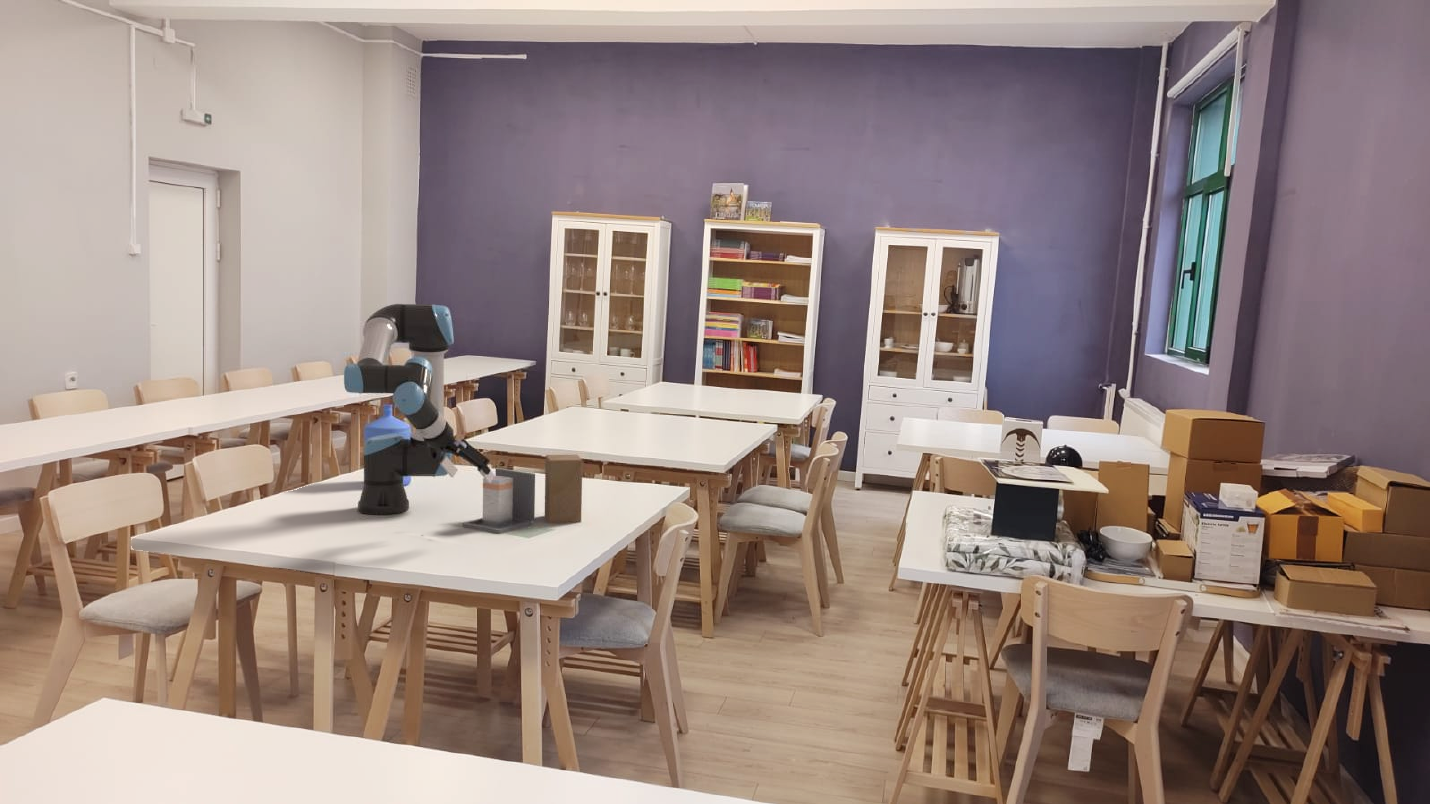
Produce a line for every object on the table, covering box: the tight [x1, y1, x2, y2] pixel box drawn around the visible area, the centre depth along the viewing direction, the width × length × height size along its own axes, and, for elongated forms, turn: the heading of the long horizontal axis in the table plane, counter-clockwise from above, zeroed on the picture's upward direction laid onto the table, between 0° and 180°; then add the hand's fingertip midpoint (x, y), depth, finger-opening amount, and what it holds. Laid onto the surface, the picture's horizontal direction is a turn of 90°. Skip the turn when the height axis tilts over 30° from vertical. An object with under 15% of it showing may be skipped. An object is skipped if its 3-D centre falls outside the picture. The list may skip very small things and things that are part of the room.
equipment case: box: [462, 467, 536, 535], centre depth 289 cm, size 14×15×16 cm
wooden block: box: [544, 454, 583, 524], centre depth 300 cm, size 10×10×20 cm
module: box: [482, 475, 513, 529], centre depth 289 cm, size 6×6×14 cm
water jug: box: [363, 403, 412, 487], centre depth 346 cm, size 16×16×28 cm
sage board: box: [506, 525, 556, 539], centre depth 284 cm, size 8×12×1 cm, turn 152°
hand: (472, 476), depth 279 cm, fingers open, 13 cm apart
